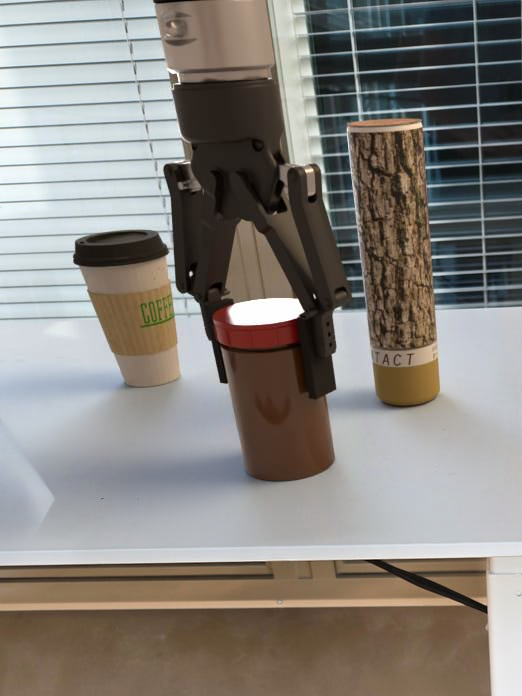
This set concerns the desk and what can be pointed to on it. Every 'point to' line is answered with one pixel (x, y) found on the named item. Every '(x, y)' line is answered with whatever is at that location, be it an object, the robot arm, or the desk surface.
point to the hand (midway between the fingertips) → (277, 386)
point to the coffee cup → (132, 302)
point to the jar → (277, 413)
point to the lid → (258, 323)
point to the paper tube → (395, 257)
